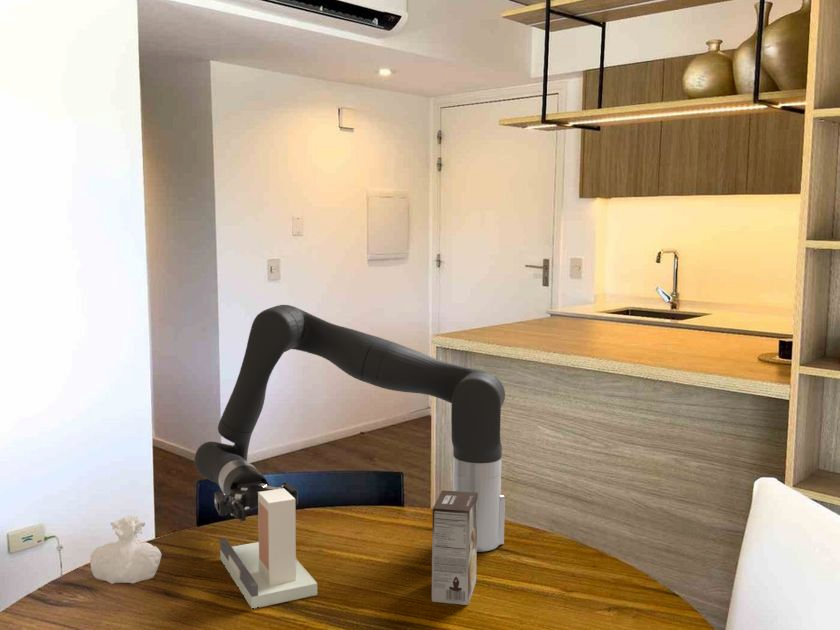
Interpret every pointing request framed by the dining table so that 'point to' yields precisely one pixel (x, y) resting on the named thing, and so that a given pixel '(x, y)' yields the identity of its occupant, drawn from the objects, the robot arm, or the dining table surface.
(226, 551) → the shelf board
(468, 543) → the coffee box
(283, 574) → the carton
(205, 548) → the dining table surface
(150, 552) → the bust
